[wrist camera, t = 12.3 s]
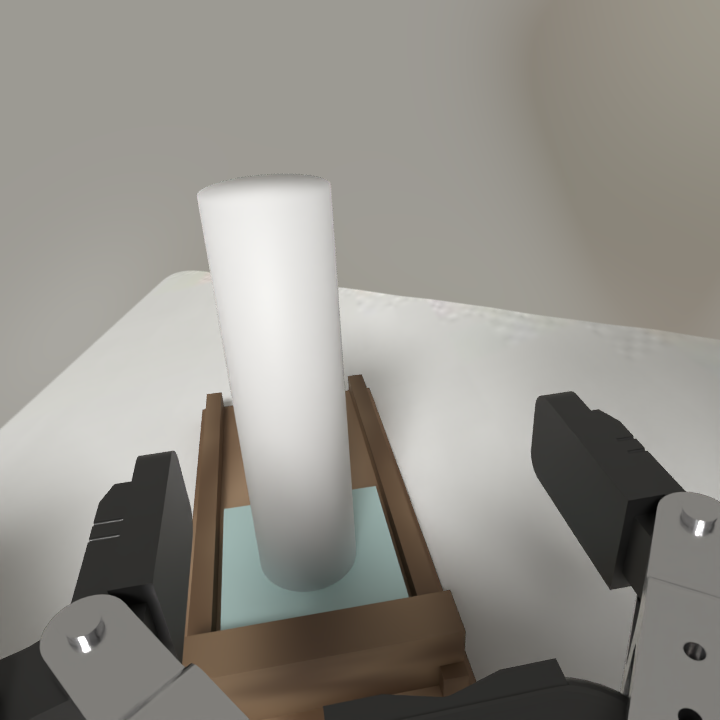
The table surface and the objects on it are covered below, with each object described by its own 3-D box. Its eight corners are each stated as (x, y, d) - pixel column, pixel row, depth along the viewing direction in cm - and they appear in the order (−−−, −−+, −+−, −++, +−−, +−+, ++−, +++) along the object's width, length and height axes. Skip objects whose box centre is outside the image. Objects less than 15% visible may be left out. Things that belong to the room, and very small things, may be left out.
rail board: (369, 396, 46) (367, 351, 44) (479, 704, 25) (483, 642, 23) (204, 418, 44) (195, 372, 43) (175, 765, 24) (154, 704, 22)
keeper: (376, 507, 34) (360, 157, 25) (412, 631, 27) (407, 207, 18) (228, 530, 33) (156, 174, 24) (225, 665, 26) (124, 234, 17)
